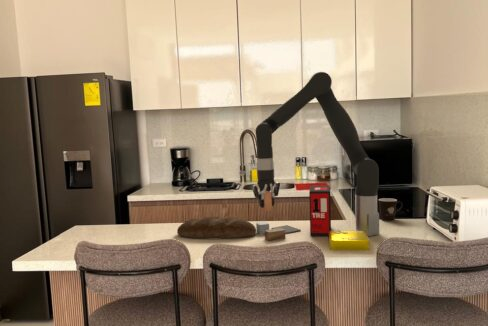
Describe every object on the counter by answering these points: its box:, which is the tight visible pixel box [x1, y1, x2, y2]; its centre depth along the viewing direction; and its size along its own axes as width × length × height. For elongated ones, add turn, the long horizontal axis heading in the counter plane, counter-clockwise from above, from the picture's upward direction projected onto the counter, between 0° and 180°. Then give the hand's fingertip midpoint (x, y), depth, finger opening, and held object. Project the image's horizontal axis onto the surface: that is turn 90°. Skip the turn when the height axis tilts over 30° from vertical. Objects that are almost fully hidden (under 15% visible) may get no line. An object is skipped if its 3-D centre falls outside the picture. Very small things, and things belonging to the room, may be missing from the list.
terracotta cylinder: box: [261, 191, 273, 212], centre depth 184 cm, size 4×4×8 cm
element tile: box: [328, 229, 370, 252], centre depth 167 cm, size 15×15×5 cm
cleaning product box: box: [308, 185, 332, 238], centre depth 187 cm, size 16×9×20 cm, turn 168°
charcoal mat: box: [270, 224, 302, 235], centre depth 193 cm, size 11×9×1 cm
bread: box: [176, 216, 257, 240], centre depth 189 cm, size 16×36×8 cm, turn 82°
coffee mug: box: [378, 197, 404, 222], centre depth 206 cm, size 12×9×10 cm
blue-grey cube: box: [255, 221, 270, 235], centre depth 190 cm, size 4×4×4 cm
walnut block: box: [264, 228, 286, 242], centre depth 180 cm, size 4×8×4 cm, turn 116°
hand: (267, 206), depth 184 cm, fingers closed on terracotta cylinder, 4 cm apart
